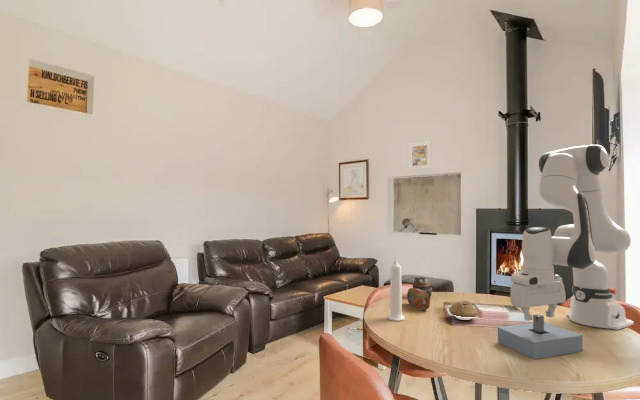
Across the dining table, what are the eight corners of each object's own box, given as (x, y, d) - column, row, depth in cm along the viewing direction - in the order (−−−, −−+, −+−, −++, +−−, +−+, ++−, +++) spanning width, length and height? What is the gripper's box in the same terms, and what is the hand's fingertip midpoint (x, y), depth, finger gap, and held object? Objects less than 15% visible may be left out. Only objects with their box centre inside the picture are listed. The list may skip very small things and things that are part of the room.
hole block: (542, 335, 123) (542, 321, 123) (582, 351, 109) (582, 335, 109) (497, 342, 117) (497, 327, 117) (534, 359, 103) (534, 342, 103)
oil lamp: (477, 314, 147) (477, 296, 147) (478, 325, 134) (477, 305, 134) (450, 311, 152) (450, 293, 152) (448, 321, 138) (447, 301, 138)
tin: (406, 303, 165) (406, 286, 165) (412, 303, 166) (412, 285, 166) (425, 312, 150) (425, 293, 150) (431, 312, 151) (431, 292, 151)
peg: (538, 344, 115) (537, 314, 115) (546, 347, 112) (546, 316, 112) (531, 345, 114) (530, 315, 114) (539, 348, 111) (539, 317, 111)
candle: (392, 314, 147) (392, 256, 148) (407, 318, 142) (407, 257, 143) (384, 318, 141) (384, 258, 142) (400, 322, 137) (399, 259, 138)
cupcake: (423, 300, 170) (423, 280, 170) (408, 296, 178) (408, 277, 178) (436, 297, 175) (436, 278, 175) (421, 294, 183) (421, 275, 184)
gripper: (552, 272, 120) (553, 312, 119) (506, 276, 113) (507, 318, 113) (570, 275, 114) (571, 317, 113) (522, 280, 107) (524, 325, 107)
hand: (539, 318), depth 113 cm, fingers open, 8 cm apart
